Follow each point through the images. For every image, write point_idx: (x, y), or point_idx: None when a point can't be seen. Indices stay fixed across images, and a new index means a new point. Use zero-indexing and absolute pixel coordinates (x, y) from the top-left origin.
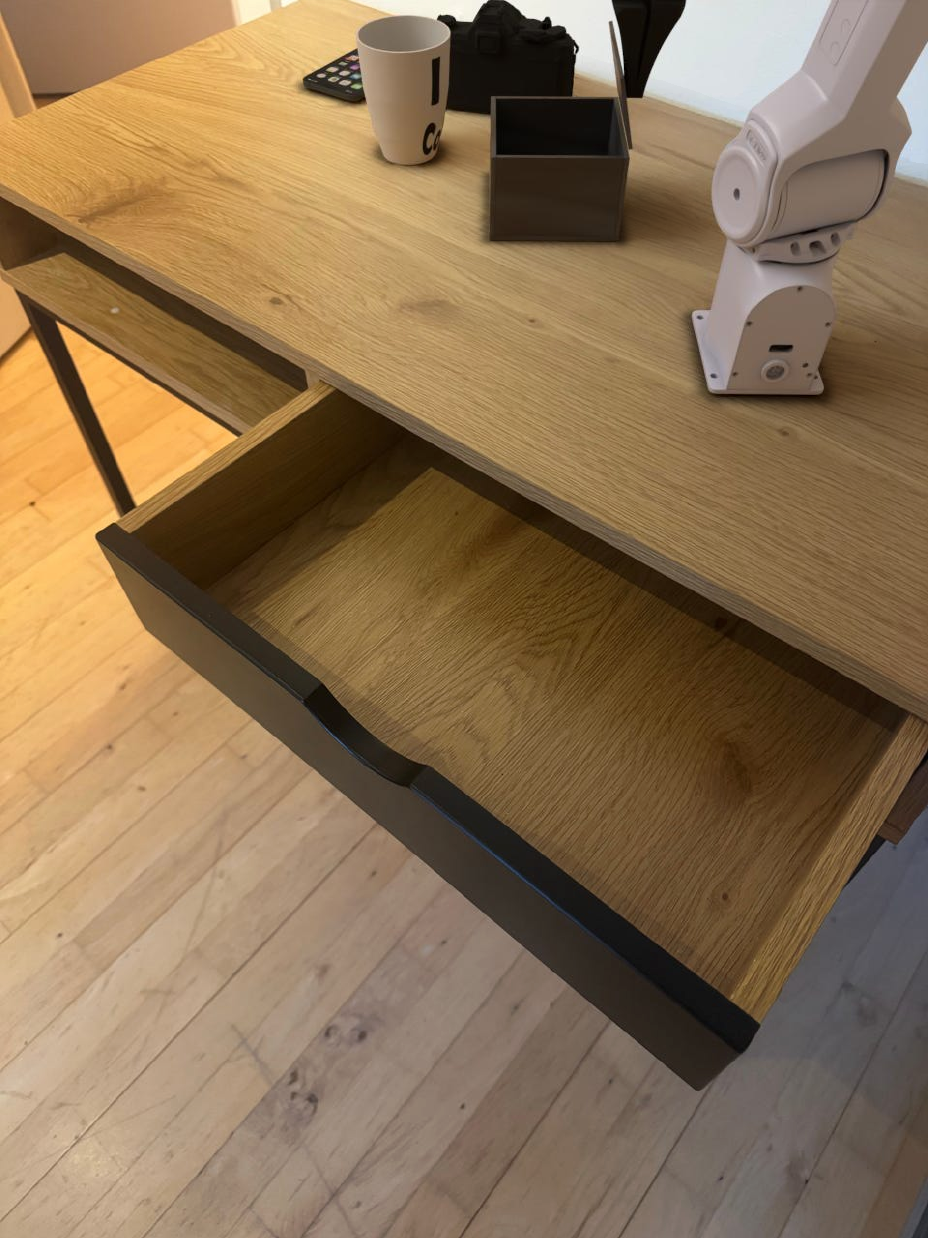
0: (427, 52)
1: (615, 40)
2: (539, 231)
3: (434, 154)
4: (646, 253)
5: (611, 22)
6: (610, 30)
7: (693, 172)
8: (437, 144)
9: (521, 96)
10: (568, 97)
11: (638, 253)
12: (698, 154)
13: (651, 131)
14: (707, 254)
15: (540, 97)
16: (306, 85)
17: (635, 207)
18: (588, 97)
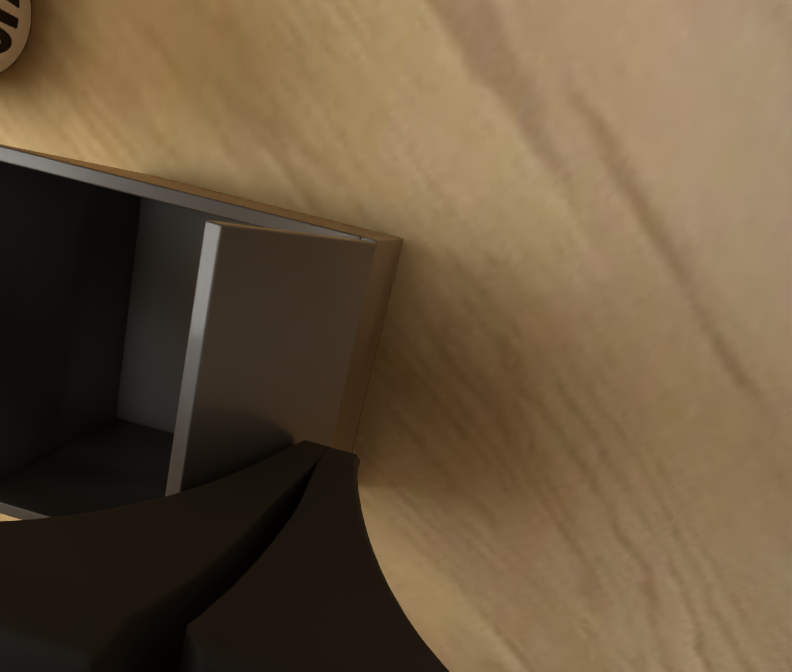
0: None
1: (178, 485)
2: None
3: (22, 43)
4: (383, 532)
5: (213, 250)
6: (189, 344)
7: (615, 260)
8: (9, 34)
9: (67, 166)
10: (214, 207)
11: (369, 528)
12: (674, 172)
13: (608, 6)
14: (494, 565)
15: (125, 187)
16: None
17: (420, 376)
18: (278, 222)
